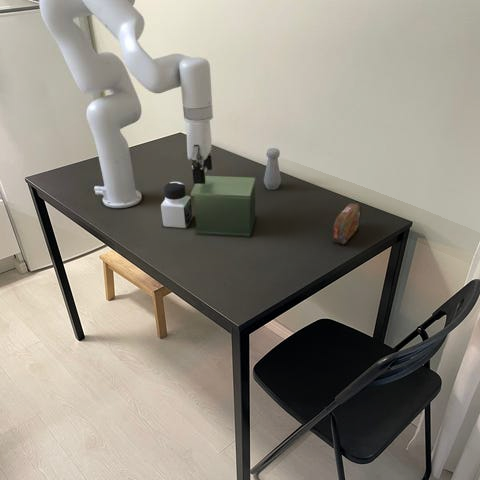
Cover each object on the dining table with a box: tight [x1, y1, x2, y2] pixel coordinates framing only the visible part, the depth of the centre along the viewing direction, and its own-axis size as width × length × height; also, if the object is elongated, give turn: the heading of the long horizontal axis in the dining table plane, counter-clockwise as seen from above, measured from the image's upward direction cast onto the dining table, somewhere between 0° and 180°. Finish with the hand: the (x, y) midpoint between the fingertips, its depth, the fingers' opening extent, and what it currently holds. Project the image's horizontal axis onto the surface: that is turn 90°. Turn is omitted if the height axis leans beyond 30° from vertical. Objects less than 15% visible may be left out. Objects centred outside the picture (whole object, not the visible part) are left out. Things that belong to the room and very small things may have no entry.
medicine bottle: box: [160, 181, 193, 229], centre depth 143 cm, size 7×7×12 cm
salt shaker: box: [263, 147, 282, 191], centre depth 161 cm, size 6×6×13 cm
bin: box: [193, 181, 256, 238], centre depth 141 cm, size 16×12×12 cm
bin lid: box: [190, 166, 256, 198], centre depth 136 cm, size 16×12×5 cm
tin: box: [332, 202, 362, 245], centre depth 136 cm, size 15×3×8 cm, turn 148°
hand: (203, 176), depth 136 cm, fingers open, 9 cm apart
